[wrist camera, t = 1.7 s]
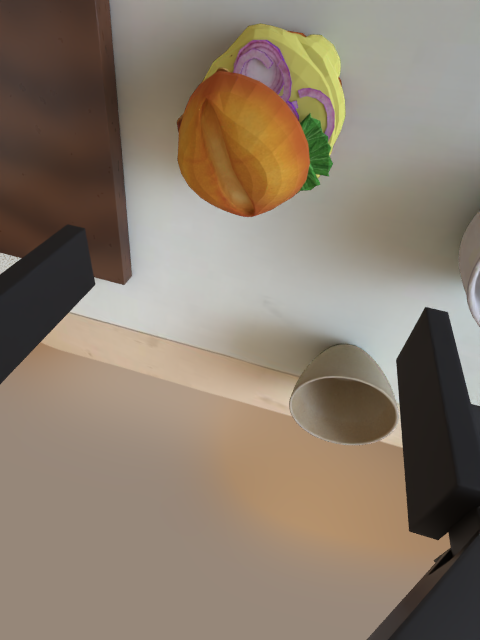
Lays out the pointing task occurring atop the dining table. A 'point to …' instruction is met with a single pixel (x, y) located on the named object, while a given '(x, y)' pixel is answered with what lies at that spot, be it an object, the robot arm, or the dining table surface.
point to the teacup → (471, 265)
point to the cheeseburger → (262, 121)
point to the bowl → (344, 398)
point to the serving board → (61, 131)
